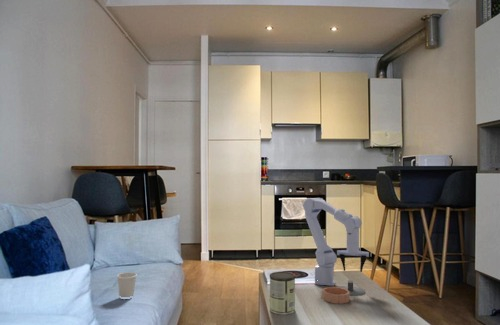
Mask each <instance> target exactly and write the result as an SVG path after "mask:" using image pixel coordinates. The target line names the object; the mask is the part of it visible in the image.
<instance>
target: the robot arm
mask: <svg viewBox="0 0 500 325" xmlns="http://www.w3.org/2000/svg"><path fill="white" fill-rule="evenodd" d="M302 207H303V209H304V217H305V220H306V222H307V224H308V225H307V226H308V228H309V230H310V232H311V235H312V238H313V241H314V244H315V246H316V251H315V257H316V259H315V260H316V262H317V264H315V266H314V285H321V286H327V287H328V286H329V287H335V284H336V283H335V282H336V280H335V276H334V275H335V264H336V262H337V260H338V257H337V256H339V258H340V262H341V264H342V268H343V271H344V272H346V256H354V257H360V264H359V265H360V267H359V271H360V273H362V272H363V268H364V265H365V263H366V261H367V258H369V257H370V252H369V251H362V250H360V228H361V227H362V224H363V223H362V219H361V218H360V217H359V216H353V214H351V213H348V212H346V210H345V209H344V208H342V209H341V208H338V209H337V208H336V207H334V206H332V205H331V204H329V203H328V202H327V201H326V200H325V199H322V198H321V197H314V198H311V197H310V198H309V197H308V198H305V200H304V201H303V204H302ZM322 210H323V211H325V212H326V213H329V214H331V215H332V216H333V217H334V220H336V221H338V222H339V223H341V224H342V225H344V227H345V230H346V249H341V250H339V249H338V250H336V252H334V250H333V248H332V247H330V246H329V245H328V243H327V241H326V240H327V239H326V238H325V235H324V233H323V230H322V229H321V228H322V227H321V224H320V223H319V222H320V221H319V220H318V215H319V213H320V212H321V211H322ZM317 280H318V281H317Z"/></svg>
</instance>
